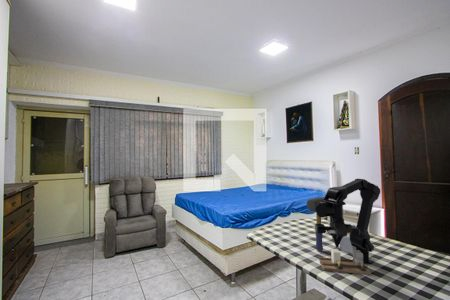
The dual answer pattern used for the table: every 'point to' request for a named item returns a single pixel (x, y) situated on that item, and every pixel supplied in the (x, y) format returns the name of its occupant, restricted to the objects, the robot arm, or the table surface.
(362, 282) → the table surface
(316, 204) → the rubber mallet
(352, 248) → the medicine box
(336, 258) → the slider
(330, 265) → the wooden peg rack
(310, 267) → the table surface
